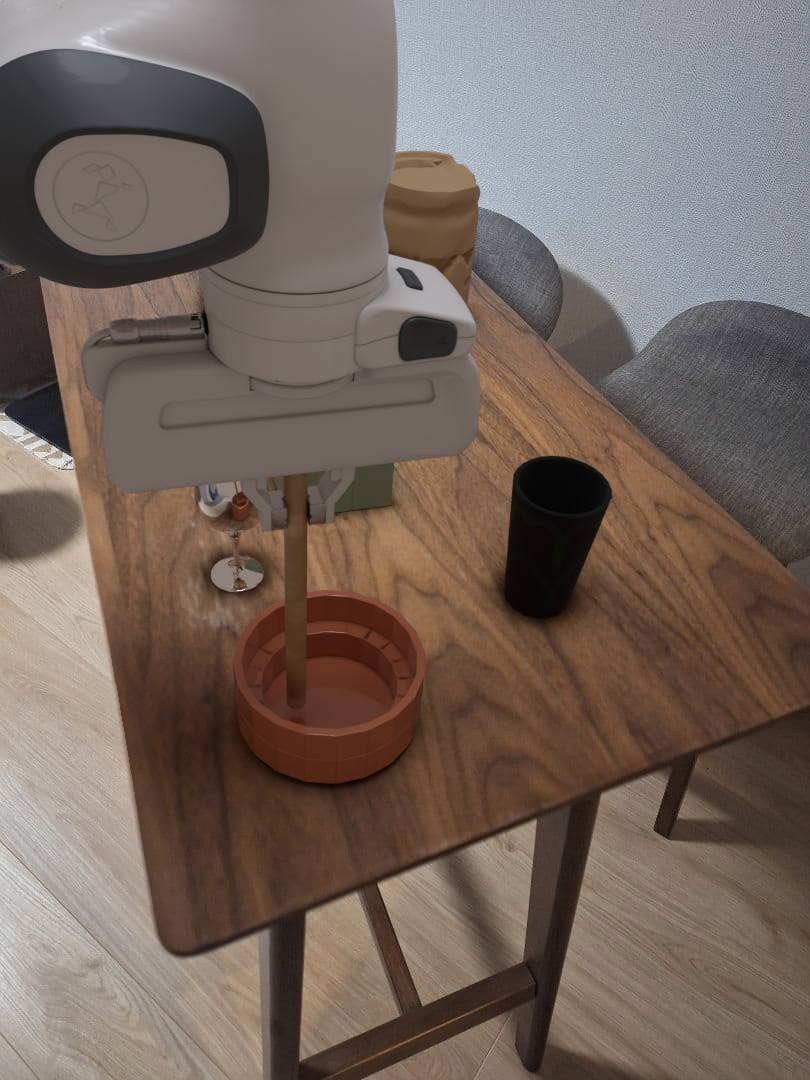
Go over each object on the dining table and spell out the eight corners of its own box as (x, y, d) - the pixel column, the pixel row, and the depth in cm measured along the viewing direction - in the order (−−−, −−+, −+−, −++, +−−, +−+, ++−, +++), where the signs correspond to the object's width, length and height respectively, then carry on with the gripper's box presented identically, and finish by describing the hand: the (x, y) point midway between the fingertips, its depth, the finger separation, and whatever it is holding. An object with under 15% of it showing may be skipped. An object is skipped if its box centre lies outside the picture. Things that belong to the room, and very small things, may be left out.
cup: (598, 596, 79) (631, 487, 71) (545, 641, 74) (574, 530, 66) (527, 551, 82) (551, 443, 74) (473, 592, 78) (492, 481, 70)
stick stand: (285, 519, 83) (284, 457, 78) (266, 455, 90) (264, 394, 86) (391, 505, 86) (396, 444, 81) (364, 444, 93) (367, 385, 88)
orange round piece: (254, 806, 61) (251, 753, 57) (226, 659, 70) (221, 605, 66) (441, 766, 64) (449, 714, 60) (390, 631, 74) (395, 578, 70)
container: (442, 288, 120) (457, 147, 108) (481, 335, 111) (502, 187, 99) (351, 298, 116) (356, 153, 104) (384, 347, 107) (394, 195, 95)
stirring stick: (288, 711, 65) (285, 462, 50) (284, 696, 66) (280, 448, 51) (307, 707, 65) (310, 460, 51) (303, 692, 66) (305, 445, 52)
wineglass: (267, 600, 75) (262, 486, 67) (197, 595, 75) (184, 480, 67) (275, 553, 80) (272, 440, 72) (209, 548, 79) (198, 435, 71)
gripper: (76, 357, 40) (117, 583, 49) (507, 324, 45) (472, 532, 55) (72, 291, 44) (110, 509, 54) (465, 267, 50) (439, 469, 59)
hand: (296, 520), depth 54 cm, fingers closed on stirring stick, 1 cm apart
